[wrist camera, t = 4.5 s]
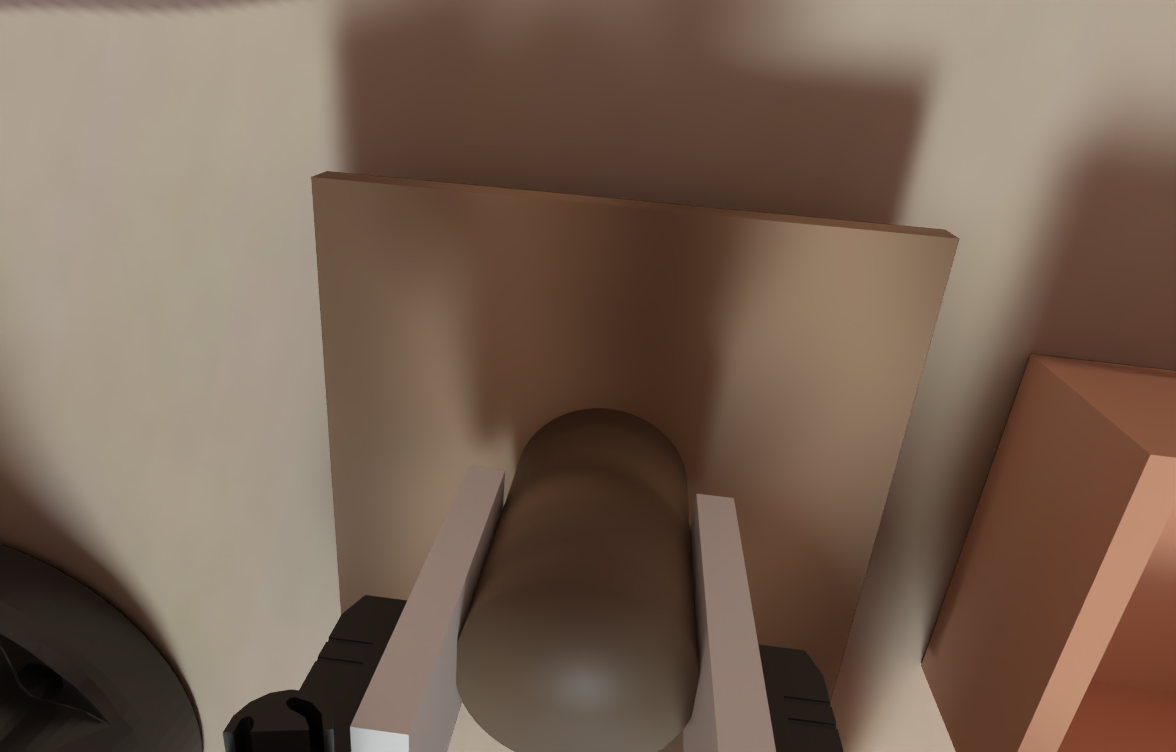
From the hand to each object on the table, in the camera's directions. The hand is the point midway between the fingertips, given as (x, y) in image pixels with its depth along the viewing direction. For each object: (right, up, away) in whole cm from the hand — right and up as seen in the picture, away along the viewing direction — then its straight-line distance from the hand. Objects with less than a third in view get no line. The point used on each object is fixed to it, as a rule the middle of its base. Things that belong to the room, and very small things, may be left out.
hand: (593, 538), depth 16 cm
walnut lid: (0, +1, +3) cm, 3 cm away
